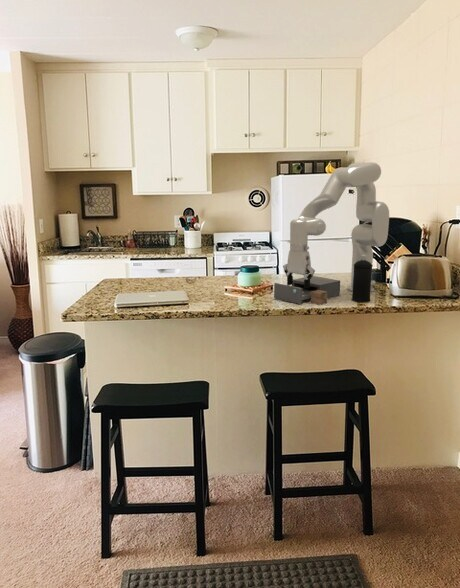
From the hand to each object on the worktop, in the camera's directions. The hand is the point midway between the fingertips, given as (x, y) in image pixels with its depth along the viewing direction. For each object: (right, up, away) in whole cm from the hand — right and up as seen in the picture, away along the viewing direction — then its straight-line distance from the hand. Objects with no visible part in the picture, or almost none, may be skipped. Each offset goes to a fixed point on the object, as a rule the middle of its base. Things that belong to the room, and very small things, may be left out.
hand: (298, 286), depth 228 cm
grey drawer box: (+9, -4, +10) cm, 14 cm away
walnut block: (+8, -7, -5) cm, 12 cm away
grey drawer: (0, -5, +1) cm, 6 cm away
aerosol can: (+28, -6, 0) cm, 28 cm away
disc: (-1, -4, 0) cm, 4 cm away
